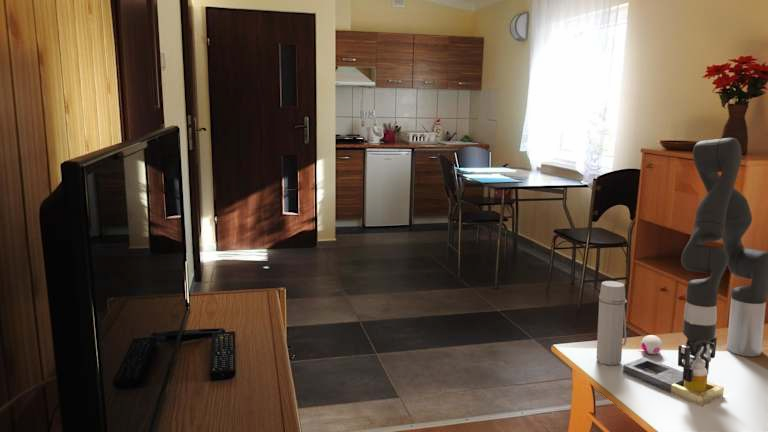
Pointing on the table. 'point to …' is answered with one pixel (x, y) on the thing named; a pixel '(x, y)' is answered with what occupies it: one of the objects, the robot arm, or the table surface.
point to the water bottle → (611, 322)
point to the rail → (671, 381)
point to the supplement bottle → (698, 377)
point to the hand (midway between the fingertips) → (695, 377)
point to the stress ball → (651, 344)
